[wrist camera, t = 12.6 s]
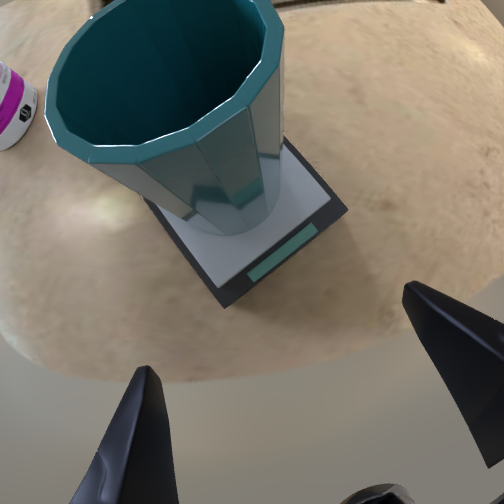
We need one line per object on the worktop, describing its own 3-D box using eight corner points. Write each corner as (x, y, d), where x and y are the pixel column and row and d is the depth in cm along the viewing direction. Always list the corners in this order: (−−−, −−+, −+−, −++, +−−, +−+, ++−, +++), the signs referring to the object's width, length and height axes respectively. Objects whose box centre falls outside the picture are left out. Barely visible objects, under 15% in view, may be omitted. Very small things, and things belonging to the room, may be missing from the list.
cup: (300, 163, 19) (327, 5, 6) (245, 256, 19) (177, 217, 6) (211, 120, 20) (142, -31, 7) (156, 204, 19) (13, 118, 7)
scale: (342, 215, 21) (350, 207, 18) (228, 306, 21) (222, 310, 19) (237, 99, 22) (233, 81, 20) (135, 178, 23) (120, 167, 20)
